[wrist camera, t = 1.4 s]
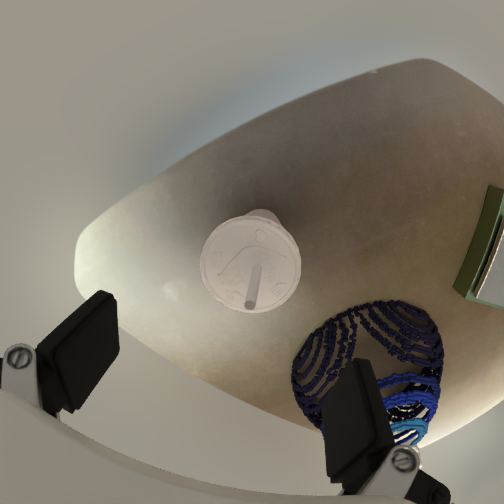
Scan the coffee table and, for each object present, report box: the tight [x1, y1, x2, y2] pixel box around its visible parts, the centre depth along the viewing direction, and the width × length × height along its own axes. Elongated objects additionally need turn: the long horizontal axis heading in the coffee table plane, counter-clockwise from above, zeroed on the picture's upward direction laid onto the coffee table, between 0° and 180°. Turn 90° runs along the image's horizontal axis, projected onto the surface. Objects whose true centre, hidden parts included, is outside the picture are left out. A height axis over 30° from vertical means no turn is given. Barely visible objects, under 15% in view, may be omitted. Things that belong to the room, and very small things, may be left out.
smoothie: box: [200, 209, 301, 313], centre depth 19 cm, size 6×6×14 cm
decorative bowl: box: [291, 300, 444, 453], centre depth 24 cm, size 20×20×14 cm
